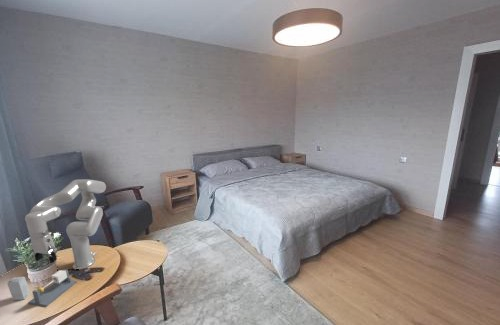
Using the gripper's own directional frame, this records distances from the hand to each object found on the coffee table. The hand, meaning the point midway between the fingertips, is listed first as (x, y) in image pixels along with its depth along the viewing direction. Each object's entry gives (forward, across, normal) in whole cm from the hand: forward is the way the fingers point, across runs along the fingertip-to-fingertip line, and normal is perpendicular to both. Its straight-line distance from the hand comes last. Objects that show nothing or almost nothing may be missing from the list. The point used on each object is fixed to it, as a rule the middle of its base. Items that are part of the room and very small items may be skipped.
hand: (46, 260), depth 127 cm
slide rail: (+21, -1, +1) cm, 21 cm away
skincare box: (+21, +14, +8) cm, 26 cm away
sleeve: (+16, -1, -3) cm, 16 cm away
